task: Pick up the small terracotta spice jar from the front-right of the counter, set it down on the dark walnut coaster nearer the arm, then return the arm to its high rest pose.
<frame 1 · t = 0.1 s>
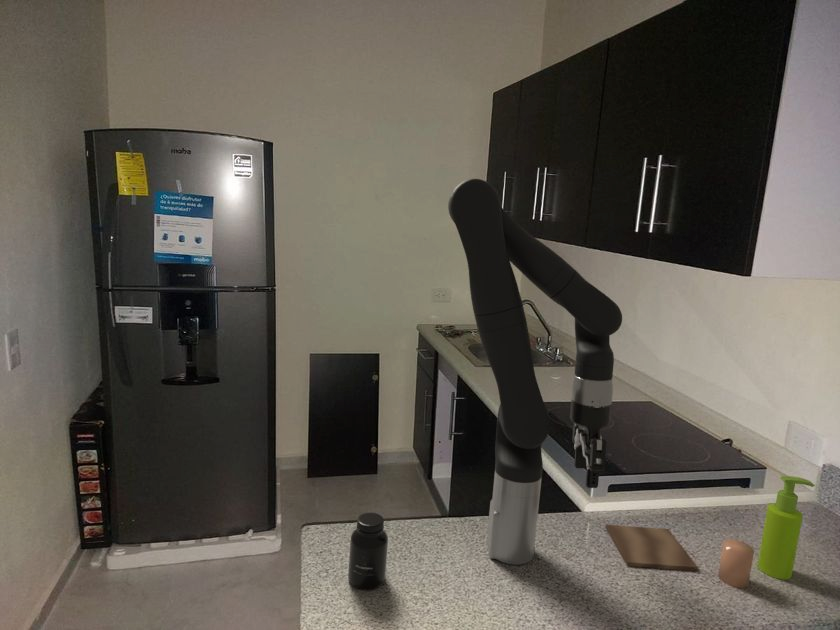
hand: (585, 477, 109), 17 cm above the countertop, tool pointing down, fingers open, 8 cm apart
supplement bottle: (366, 580, 100), on the countertop
spice jar: (733, 579, 107), on the countertop
soap dispenser: (776, 571, 111), on the countertop
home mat: (648, 548, 116), on the countertop
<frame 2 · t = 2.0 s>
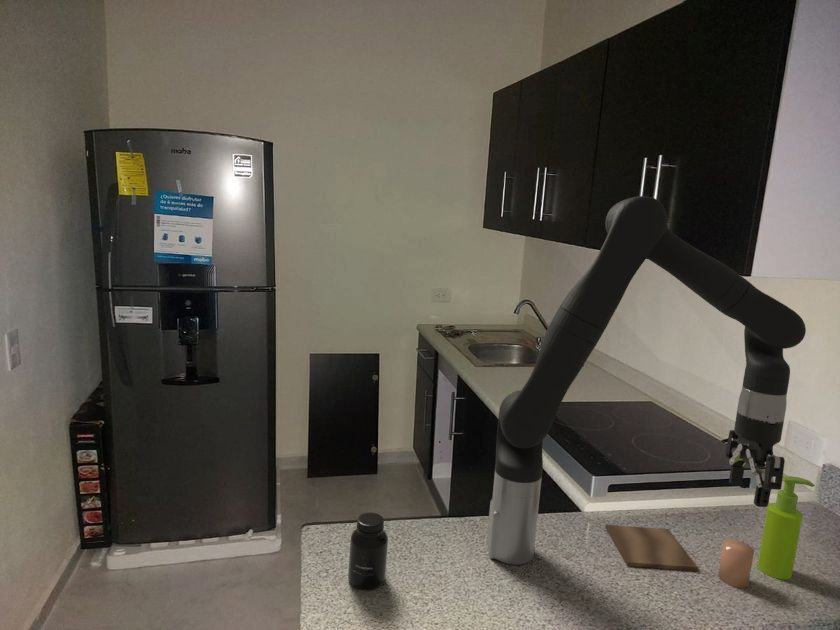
hand: (747, 494, 104), 18 cm above the countertop, tool pointing down, fingers open, 8 cm apart
nothing on the countertop moved.
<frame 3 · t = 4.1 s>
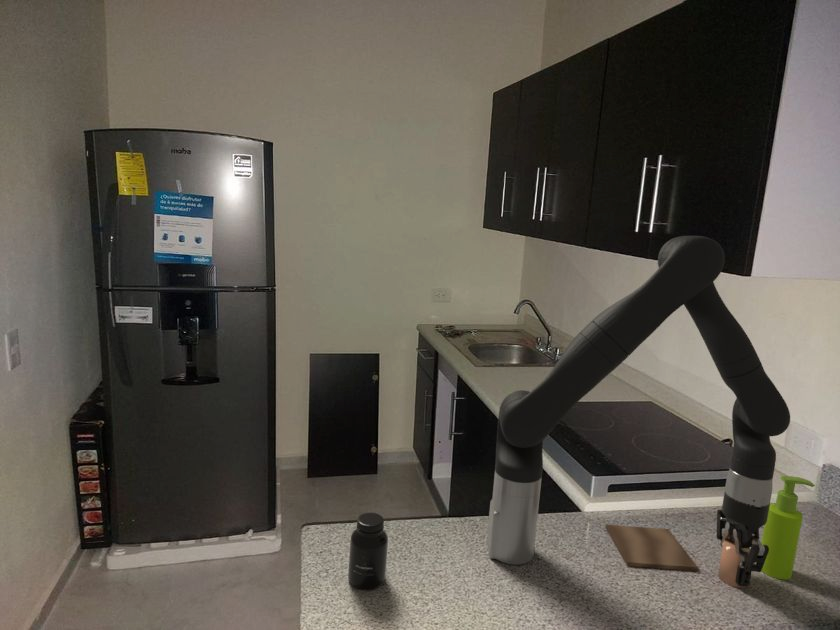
hand: (733, 575, 107), 1 cm above the countertop, tool pointing down, fingers closed on spice jar, 5 cm apart
spice jar: (733, 579, 107), on the countertop, touching gripper
everything else where it was.
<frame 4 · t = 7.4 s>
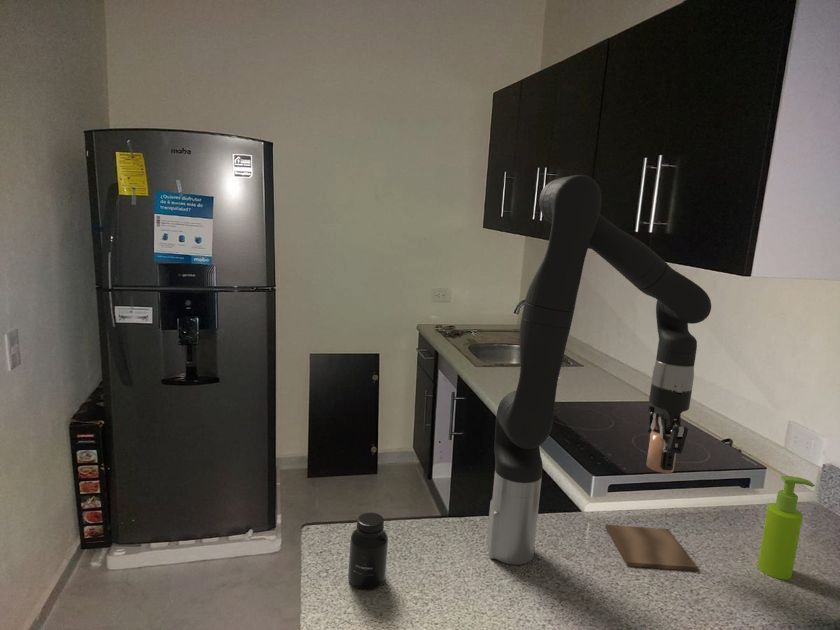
hand: (660, 462, 113), 19 cm above the countertop, tool pointing down, fingers closed on spice jar, 5 cm apart
spice jar: (659, 467, 113), point 18 cm above the countertop, touching gripper
everything else where it was.
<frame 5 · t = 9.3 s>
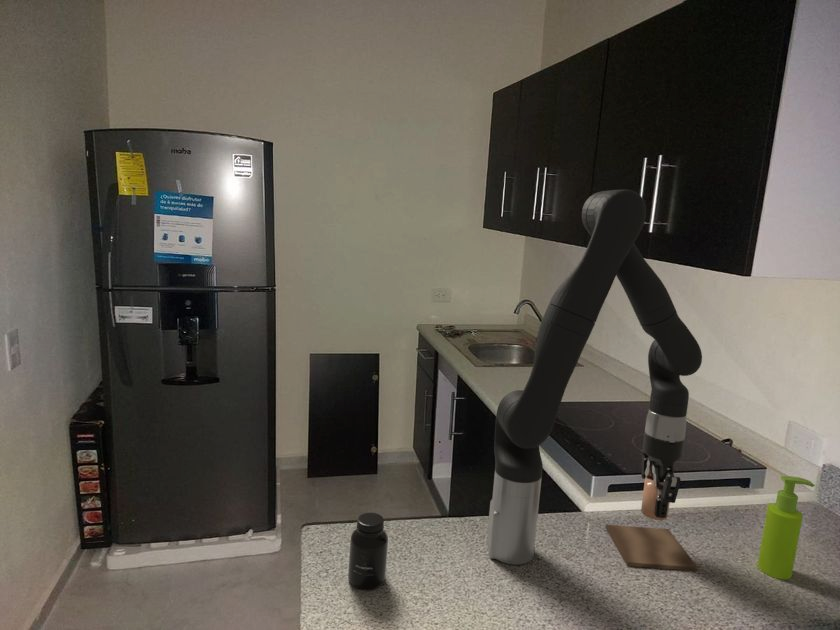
hand: (654, 509, 115), 9 cm above the countertop, tool pointing down, fingers closed on spice jar, 5 cm apart
spice jar: (654, 513, 115), point 8 cm above the countertop, touching gripper
everything else where it was.
when the fingers open (3 cm above the countertop, at t = 10.9 s): spice jar drops 1 cm, resting on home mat.
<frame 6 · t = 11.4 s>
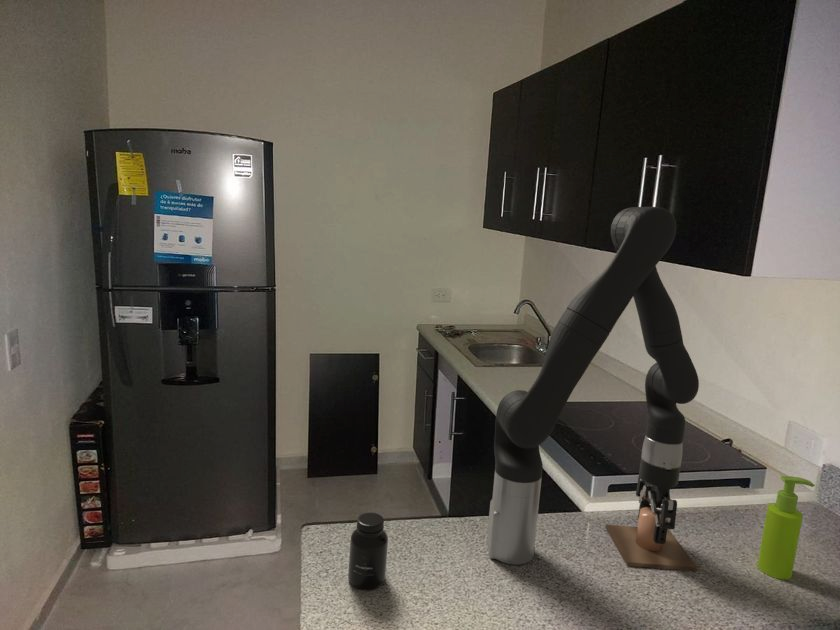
hand: (651, 531, 116), 4 cm above the countertop, tool pointing down, fingers open, 8 cm apart
spice jar: (648, 544, 116), point 1 cm above the countertop, touching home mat
everything else where it was.
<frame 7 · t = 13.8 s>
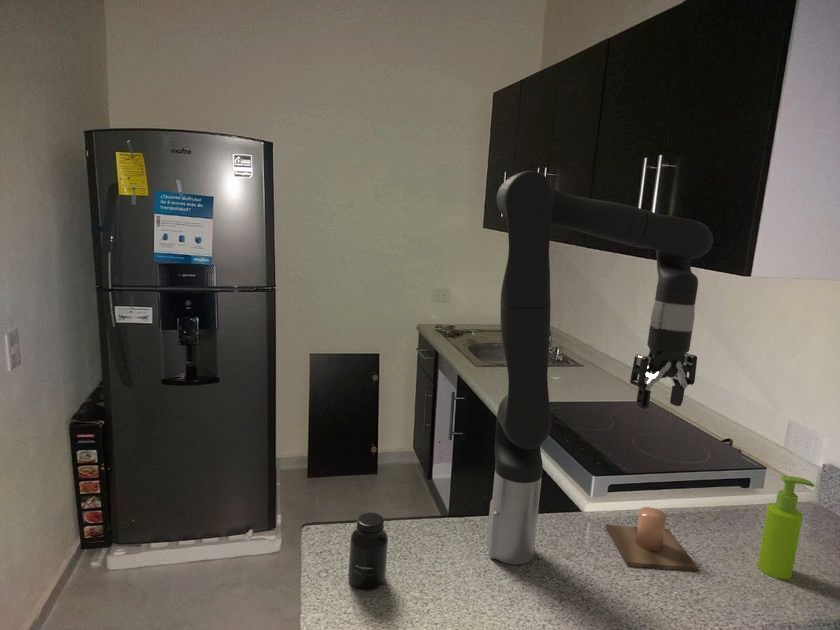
hand: (659, 406, 108), 32 cm above the countertop, tool pointing down, fingers open, 8 cm apart
nothing on the countertop moved.
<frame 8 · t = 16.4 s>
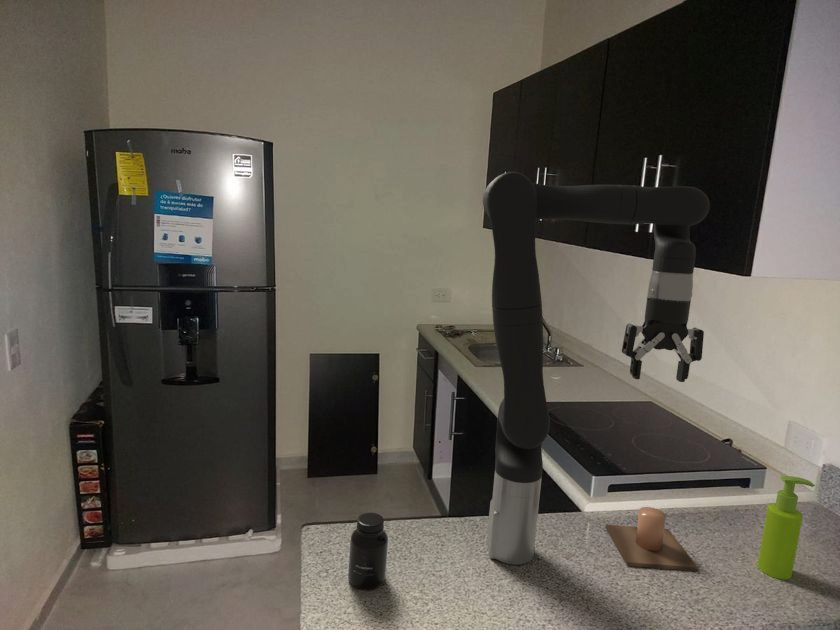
hand: (657, 379, 105), 38 cm above the countertop, tool pointing down, fingers open, 8 cm apart
nothing on the countertop moved.
at the end: spice jar inside the target area on the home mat (0.2 cm from its centre), point 0.9 cm above the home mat's base; spice jar tilted 1°; the gripper is holding nothing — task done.
